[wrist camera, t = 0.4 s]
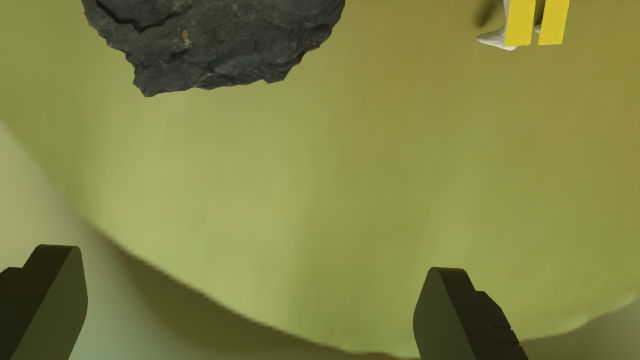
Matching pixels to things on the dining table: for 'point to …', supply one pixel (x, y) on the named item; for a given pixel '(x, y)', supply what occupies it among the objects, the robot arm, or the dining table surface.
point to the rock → (211, 38)
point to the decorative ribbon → (528, 24)
